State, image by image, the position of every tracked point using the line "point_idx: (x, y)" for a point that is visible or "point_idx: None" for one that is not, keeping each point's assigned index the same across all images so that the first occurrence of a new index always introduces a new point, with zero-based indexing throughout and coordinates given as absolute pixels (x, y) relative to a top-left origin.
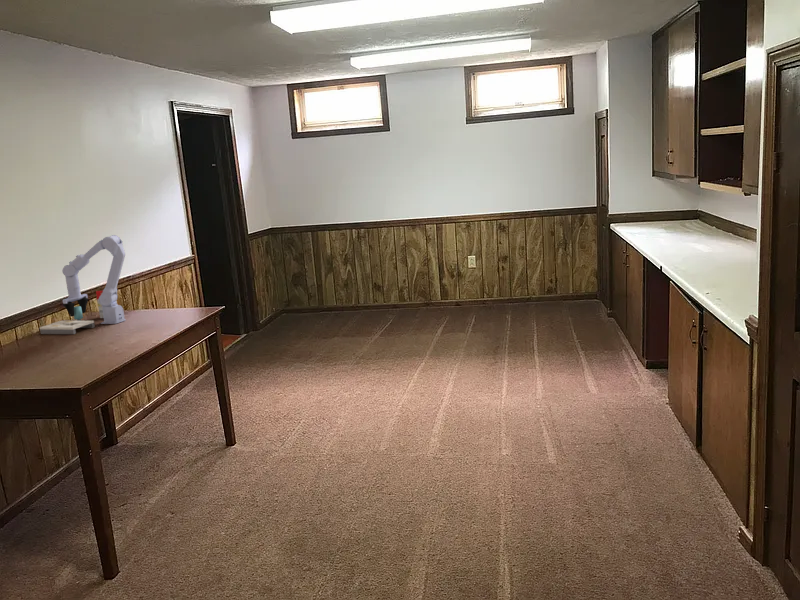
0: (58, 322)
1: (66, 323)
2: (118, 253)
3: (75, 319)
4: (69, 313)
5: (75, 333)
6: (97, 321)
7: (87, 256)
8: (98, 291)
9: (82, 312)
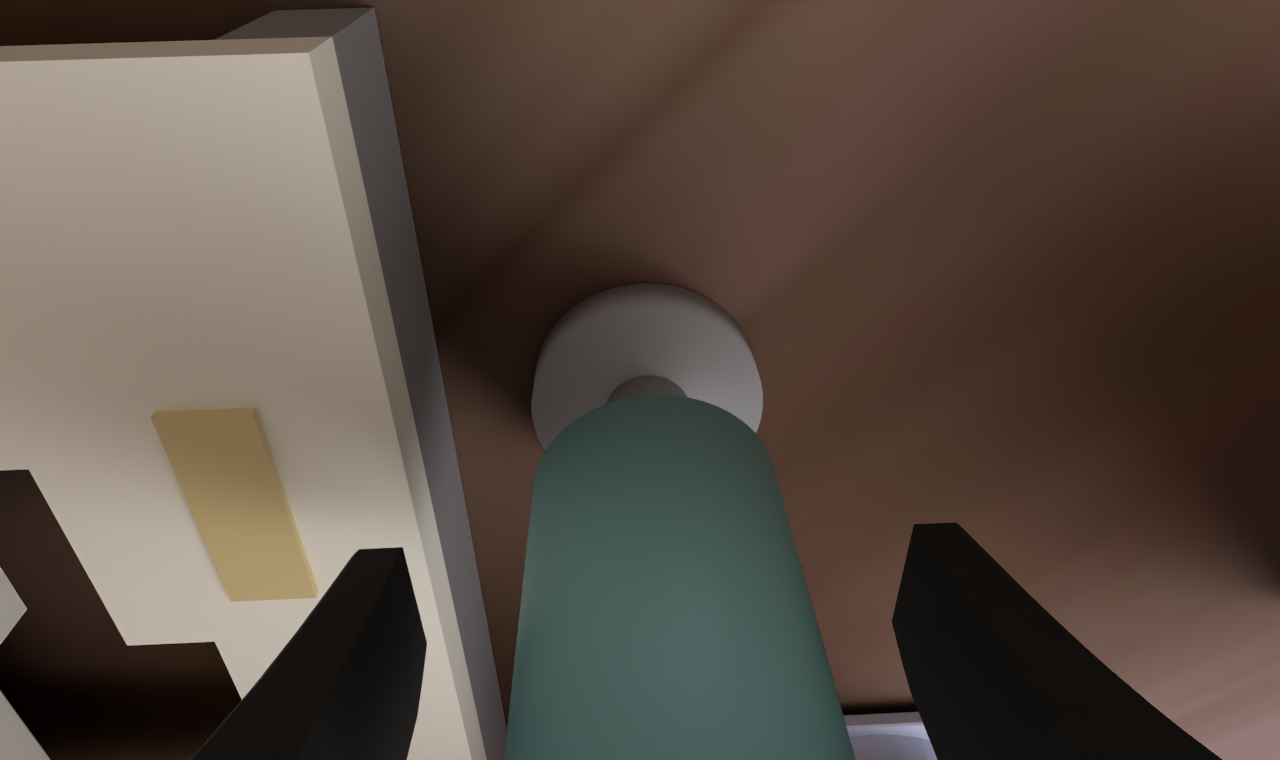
0: (26, 215)
1: (94, 578)
2: None
3: (534, 488)
4: (306, 650)
5: None
6: (989, 514)
7: None
8: None
9: (911, 577)
